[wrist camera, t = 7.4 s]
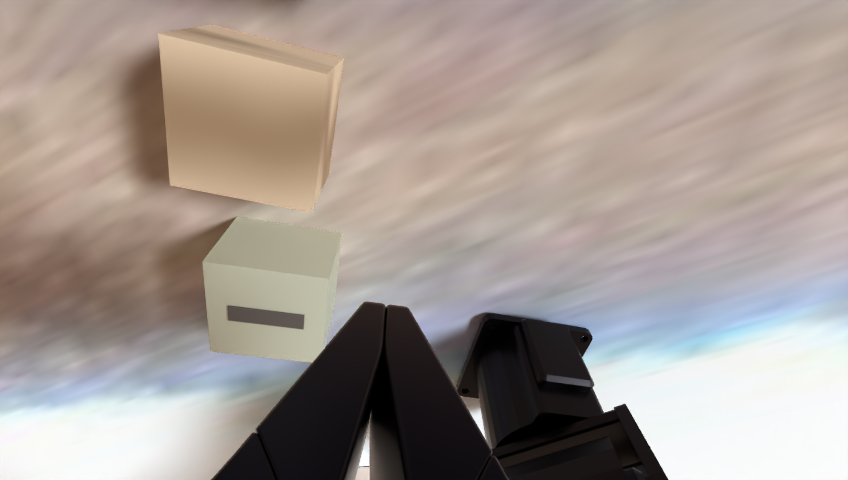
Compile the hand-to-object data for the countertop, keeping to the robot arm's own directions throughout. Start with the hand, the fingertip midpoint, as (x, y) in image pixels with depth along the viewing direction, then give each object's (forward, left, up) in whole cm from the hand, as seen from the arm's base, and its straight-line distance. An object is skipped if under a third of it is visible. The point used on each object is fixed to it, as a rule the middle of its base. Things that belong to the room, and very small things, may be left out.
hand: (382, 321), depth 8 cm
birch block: (0, +5, -12) cm, 13 cm away
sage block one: (-8, +4, -12) cm, 15 cm away
